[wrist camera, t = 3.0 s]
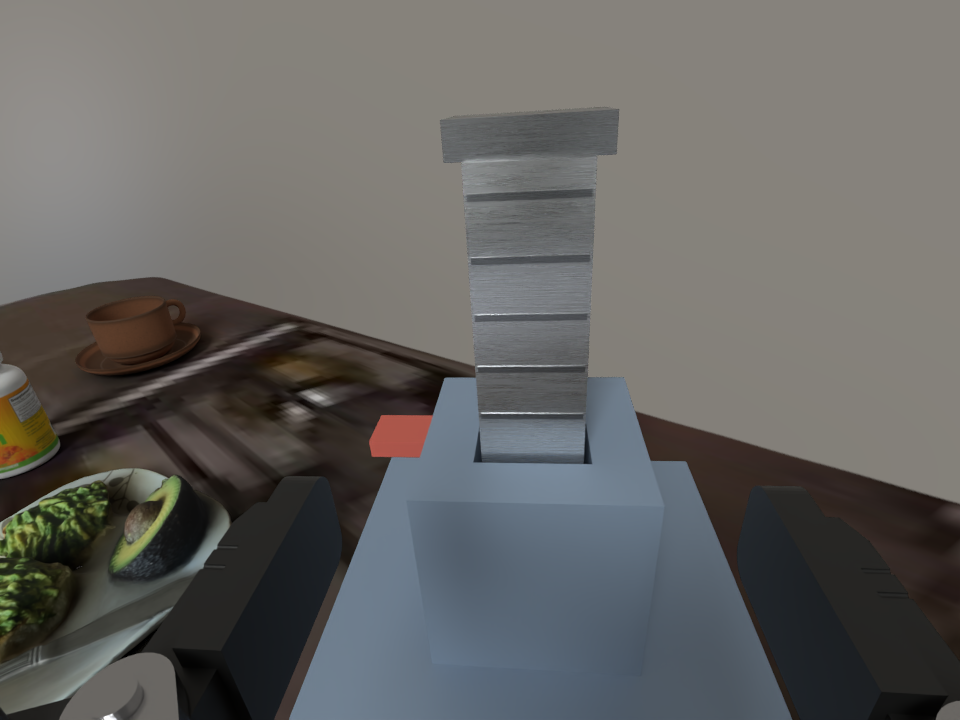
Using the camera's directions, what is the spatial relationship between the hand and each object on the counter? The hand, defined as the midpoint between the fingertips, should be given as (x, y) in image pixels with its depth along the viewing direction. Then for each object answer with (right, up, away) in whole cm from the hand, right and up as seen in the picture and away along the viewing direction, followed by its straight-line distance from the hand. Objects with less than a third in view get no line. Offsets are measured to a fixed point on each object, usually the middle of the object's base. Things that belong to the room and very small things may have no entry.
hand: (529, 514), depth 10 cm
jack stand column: (+2, -8, +16) cm, 18 cm away
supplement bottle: (-38, -5, +31) cm, 49 cm away
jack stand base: (+2, -10, +17) cm, 20 cm away
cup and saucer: (-38, +3, +48) cm, 61 cm away
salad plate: (-24, -11, +20) cm, 33 cm away
